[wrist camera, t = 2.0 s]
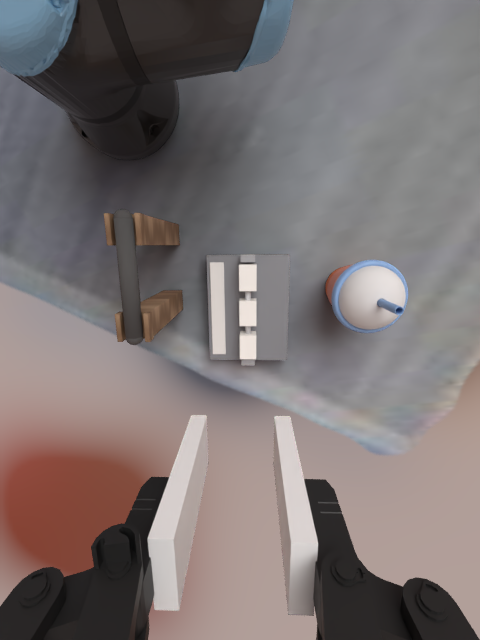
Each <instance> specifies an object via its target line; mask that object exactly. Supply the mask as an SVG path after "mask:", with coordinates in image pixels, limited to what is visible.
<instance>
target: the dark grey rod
mask: <svg viewBox="0 0 480 640" xmlns="http://www.w3.org/2000/svg"><path fill="white" fill-rule="evenodd" d="M113 219H114V229H115V239H116V248H117V258H118V268H119V278H120V288H121V297H122V307H123V317H124V327H125V336H126V340H127V342H128V343H129V344H132V345H137V344H139V343H141V341H142V340H143V326H142V315H141V304H140V292H139V281H138V269H137V258H136V247H135V235H134V224H133V217H132V215H131V213H130V212H129V211H127V210H125V209H120V210H117V211H116V212H115V213H114V217H113Z"/></svg>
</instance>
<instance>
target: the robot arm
mask: <svg viewBox="0 0 480 640" xmlns="http://www.w3.org/2000/svg"><path fill="white" fill-rule="evenodd" d="M292 6H293V0H0V66H1V67H2V68H3V69H5V70H6V71H8V72H10V73H12V74H13V75H15V76H16V77H18V78H19V79H21V80H22V81H24V82H25V83H27V84H28V85H29V86H31V87H32V88H34V89H35V90H37V91H38V92H40V93H41V94H42V95H44V96H45V97H47V98H48V99H50V100H51V101H53V102H54V103H56V104H57V105H58V106H60V107H61V108H63V109H64V110H65V112H66V113H67V115H68V117H69V119H70V120H71V122H72V124H73V125H74V127H75V128H76V130H77V131H78V132H79V134H80V135H81V136H82V137H83V138H84V139H85V140H86V141H87V142H88V143H89V144H91V145H92V146H93V147H95V148H96V149H98V150H100V151H101V152H103V153H105V154H106V155H109V156H111V157H114V158H117V159H122V160H136V159H141V158H144V157H147V156H149V155H151V154H153V153H154V152H156V151H157V150H158V149H159V148H161V147H162V146H163V145H164V143H165V142H166V141H167V140H168V138H169V137H170V135H171V133H172V131H173V129H174V127H175V124H176V121H177V117H178V110H179V94H178V88H177V83H176V80H179V79H185V78H191V77H197V76H203V75H209V74H215V73H221V72H228V71H233V72H238V71H241V70H242V69H243V68H244V67H248V66H252V65H256V64H261V63H265V62H267V61H269V60H270V59H272V58H273V57H274V56H275V55H276V54H277V53H278V51H279V50H280V48H281V46H282V44H283V42H284V39H285V36H286V33H287V30H288V26H289V22H290V17H291V12H292ZM273 464H274V474H275V485H276V495H277V505H278V514H279V525H280V535H281V545H282V556H283V565H284V576H285V586H286V596H287V606H288V615H309V616H314V606H315V612H316V618H317V638H316V640H479V638H478V637H477V635H476V634H475V632H474V630H473V629H472V627H471V625H470V624H469V623H468V621H467V619H466V618H465V616H464V615H463V613H462V611H461V610H460V608H459V607H458V605H457V603H456V602H455V601H454V600H453V598H452V597H451V596H450V595H449V594H448V592H446V591H445V590H444V589H443V588H441V587H440V586H439V585H438V584H435V583H433V582H431V581H429V580H427V579H422V578H413V579H410V580H408V581H407V582H406V583H405V585H404V586H403V587H402V586H399V585H397V584H394V583H391V582H388V581H385V580H383V579H381V578H379V577H377V576H375V575H374V574H372V573H371V572H369V571H368V570H367V569H366V567H365V566H364V565H363V564H362V562H361V561H360V560H359V559H358V557H357V555H356V553H355V550H354V547H353V544H352V541H351V539H350V535H349V532H348V530H347V526H346V523H345V520H344V517H343V515H342V511H341V508H340V506H339V504H338V500H337V497H336V494H335V491H334V489H333V488H332V487H331V486H330V484H329V483H328V482H327V481H326V480H320V479H319V480H318V479H317V480H316V479H304V477H303V473H302V468H301V464H300V459H299V455H298V450H297V446H296V441H295V437H294V432H293V428H292V423H291V419H290V416H275V417H274V462H273ZM207 468H208V436H207V415H191V418H190V420H189V423H188V426H187V429H186V432H185V434H184V437H183V440H182V443H181V446H180V449H179V451H178V454H177V457H176V460H175V463H174V465H173V468H172V471H171V474H170V477H151V478H150V479H149V480H148V481H147V482H146V483H145V484H144V485H143V486H142V487H141V489H140V491H139V493H138V496H137V498H136V501H135V502H134V505H133V507H132V510H131V511H130V513H129V516H128V518H127V520H126V522H125V524H118V525H114V526H111V527H110V528H108V529H106V530H105V531H103V532H102V533H101V534H100V535H99V536H98V537H97V538H96V539H95V541H94V543H93V545H92V546H91V549H92V556H93V562H94V567H93V568H91V569H89V570H86V571H84V572H80V573H77V574H73V575H70V576H67V577H64V576H63V574H62V573H61V571H60V570H59V569H57V568H54V567H48V568H42V569H40V570H37V571H35V572H33V573H31V574H30V575H28V576H27V577H25V578H24V579H23V580H22V581H21V582H20V583H19V584H18V585H17V586H16V587H15V588H14V589H13V590H12V592H11V593H10V594H9V596H8V597H7V598H6V600H5V601H4V602H3V604H2V605H1V606H0V640H148V635H149V617H148V615H149V612H150V608H151V605H152V601H153V599H154V609H155V610H174V611H178V610H179V608H180V603H181V598H182V593H183V588H184V583H185V578H186V573H187V568H188V563H189V558H190V553H191V548H192V543H193V538H194V533H195V528H196V523H197V518H198V513H199V508H200V503H201V498H202V493H203V488H204V483H205V478H206V473H207Z"/></svg>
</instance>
